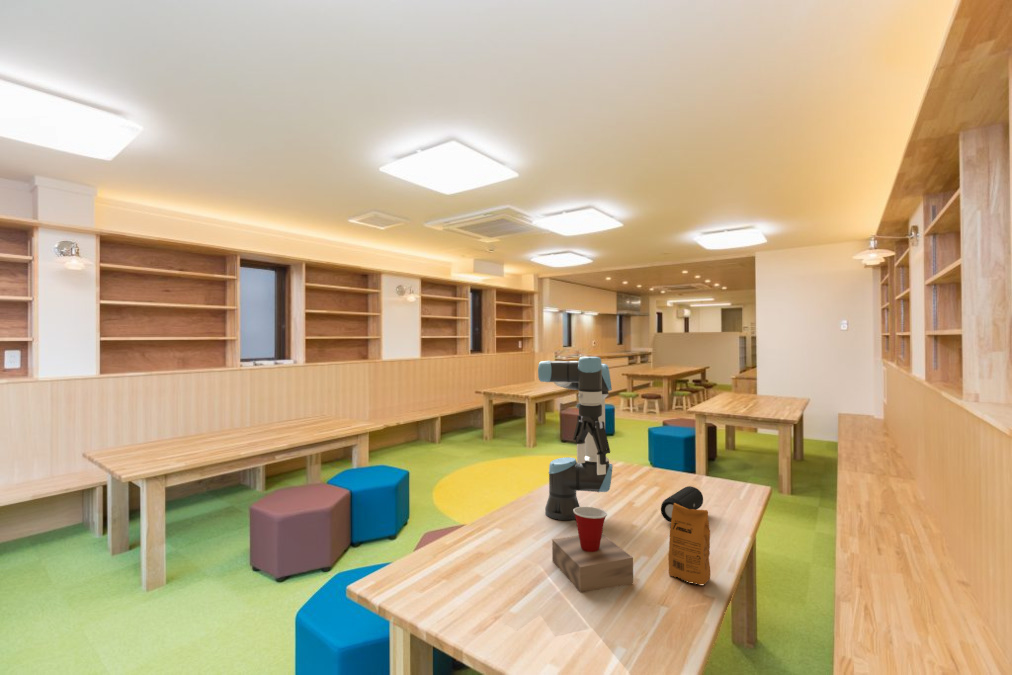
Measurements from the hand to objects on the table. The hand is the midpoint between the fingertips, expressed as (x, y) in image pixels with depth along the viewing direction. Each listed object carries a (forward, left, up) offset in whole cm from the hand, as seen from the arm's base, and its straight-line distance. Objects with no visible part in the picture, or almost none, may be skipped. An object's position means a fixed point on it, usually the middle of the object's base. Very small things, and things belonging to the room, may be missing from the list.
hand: (590, 468), depth 149 cm
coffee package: (+14, +27, -33) cm, 45 cm away
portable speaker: (-28, +59, -33) cm, 73 cm away
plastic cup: (+3, -2, -25) cm, 25 cm away
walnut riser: (+3, -2, -33) cm, 33 cm away
